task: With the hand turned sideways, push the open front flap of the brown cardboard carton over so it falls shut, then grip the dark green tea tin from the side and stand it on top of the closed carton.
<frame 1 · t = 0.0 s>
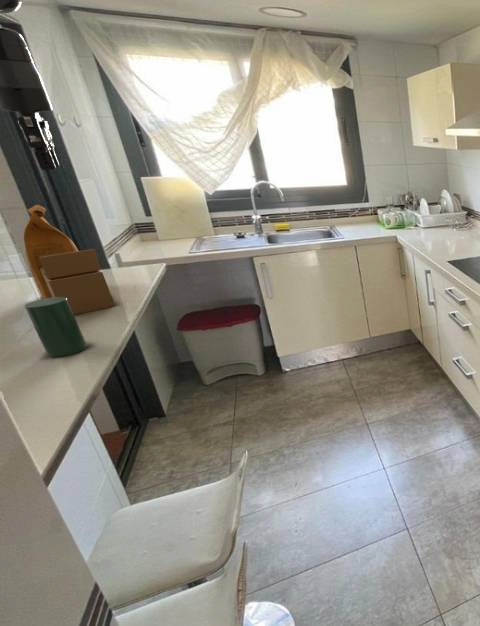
hand: (51, 168, 101), 31 cm above the countertop, tool pointing down, fingers open, 8 cm apart
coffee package: (71, 294, 117), on the countertop
carton: (85, 305, 110), on the countertop
tea tin: (67, 350, 87), on the countertop
flap: (71, 263, 101), point 12 cm above the countertop, hinge at 115.0°
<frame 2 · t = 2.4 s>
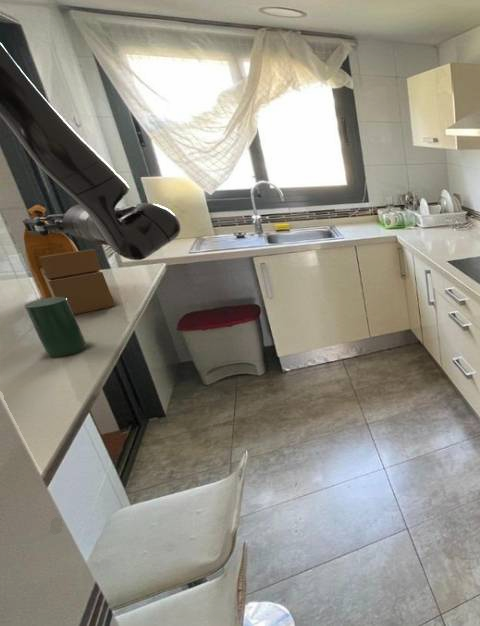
hand: (63, 218, 95), 22 cm above the countertop, tool horizontal, fingers open, 8 cm apart
nothing on the countertop moved.
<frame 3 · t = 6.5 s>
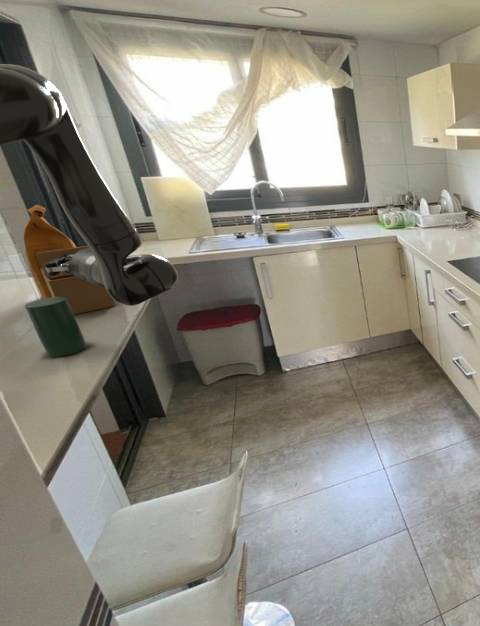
hand: (69, 257, 101), 13 cm above the countertop, tool horizontal, fingers closed
flap: (70, 261, 102), point 12 cm above the countertop, hinge at 92.9°, touching gripper
everything else where it was.
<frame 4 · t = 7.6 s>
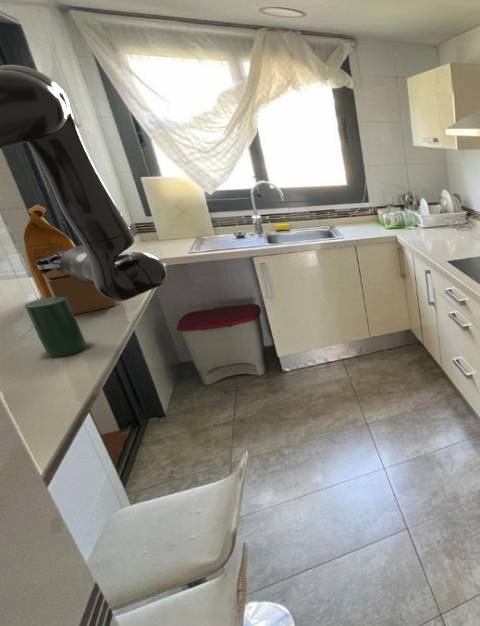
hand: (61, 255, 103), 13 cm above the countertop, tool horizontal, fingers closed
flap: (70, 265, 104), point 11 cm above the countertop, hinge at 35.5°
everything else where it was.
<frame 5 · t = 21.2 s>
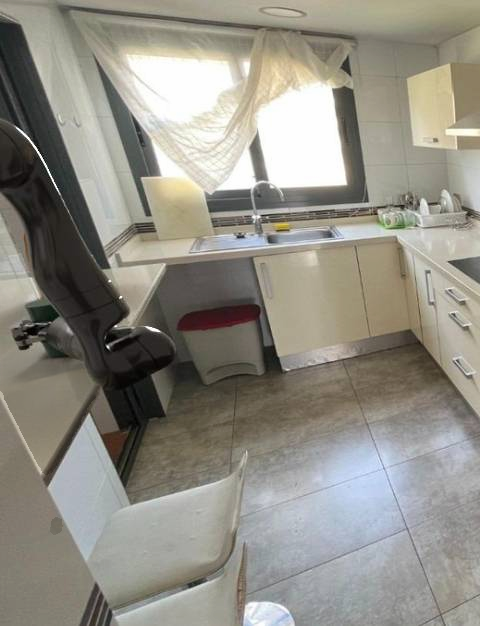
hand: (49, 319, 86), 6 cm above the countertop, tool horizontal, fingers closed on tea tin, 5 cm apart
tea tin: (67, 350, 87), on the countertop, touching gripper
flap: (70, 266, 104), point 10 cm above the countertop, hinge at 26.8°
everything else where it was.
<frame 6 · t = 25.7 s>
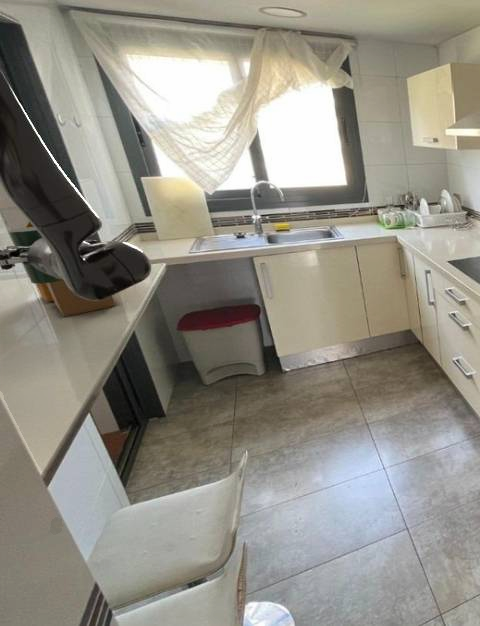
hand: (33, 248, 89), 18 cm above the countertop, tool horizontal, fingers closed on tea tin, 5 cm apart
tea tin: (51, 279, 90), point 12 cm above the countertop, touching gripper
everything else where it was.
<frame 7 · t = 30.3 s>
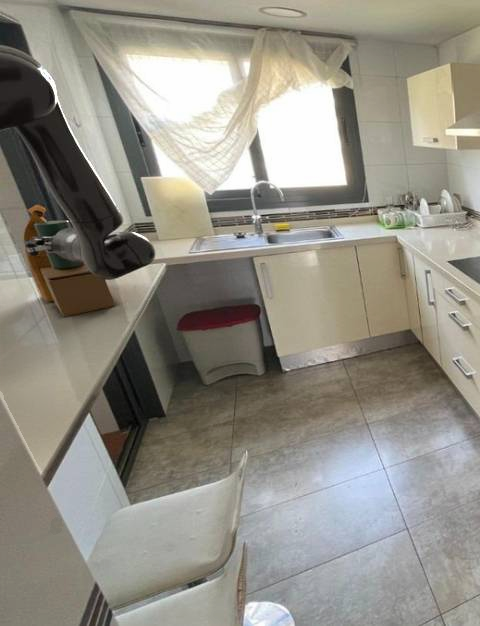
hand: (54, 238, 105), 16 cm above the countertop, tool horizontal, fingers closed on tea tin, 5 cm apart
tea tin: (69, 265, 106), point 10 cm above the countertop, touching flap, gripper
flap: (72, 270, 105), point 9 cm above the countertop, hinge at 8.0°, touching tea tin
everything else where it was.
when the fingers open (16 cm above the countertop, at t = 30.3 s): tea tin stays where it is, resting on carton.
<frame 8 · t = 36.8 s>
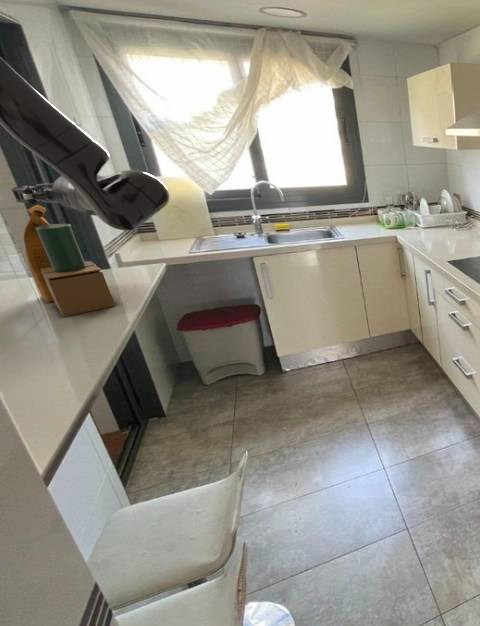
hand: (55, 189, 92), 28 cm above the countertop, tool horizontal, fingers open, 8 cm apart
tea tin: (70, 268, 106), point 9 cm above the countertop, touching carton
flap: (72, 272, 105), point 9 cm above the countertop, hinge at -1.2°
everything else where it was.
at the end: flap at -1° (first picture: +115°); tea tin inside the target area on the carton (0.0 cm from its centre), point 9.1 cm above the carton's base; tea tin tilted 1° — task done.
